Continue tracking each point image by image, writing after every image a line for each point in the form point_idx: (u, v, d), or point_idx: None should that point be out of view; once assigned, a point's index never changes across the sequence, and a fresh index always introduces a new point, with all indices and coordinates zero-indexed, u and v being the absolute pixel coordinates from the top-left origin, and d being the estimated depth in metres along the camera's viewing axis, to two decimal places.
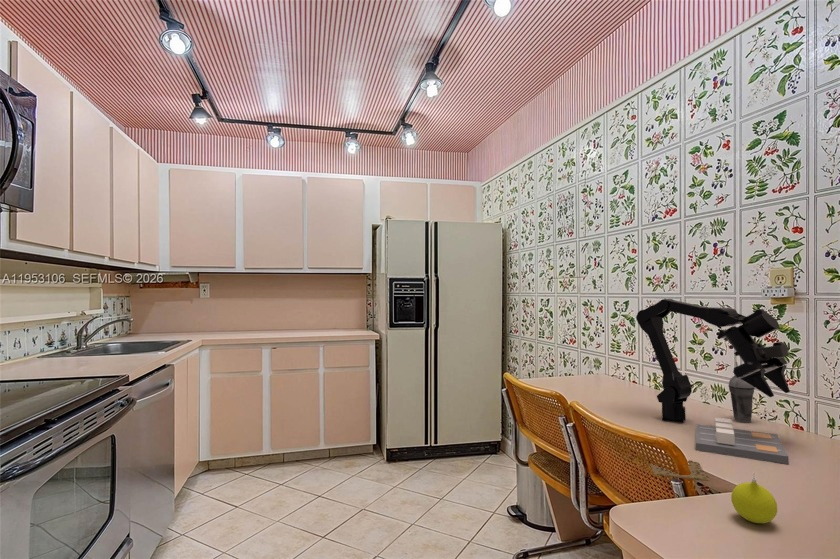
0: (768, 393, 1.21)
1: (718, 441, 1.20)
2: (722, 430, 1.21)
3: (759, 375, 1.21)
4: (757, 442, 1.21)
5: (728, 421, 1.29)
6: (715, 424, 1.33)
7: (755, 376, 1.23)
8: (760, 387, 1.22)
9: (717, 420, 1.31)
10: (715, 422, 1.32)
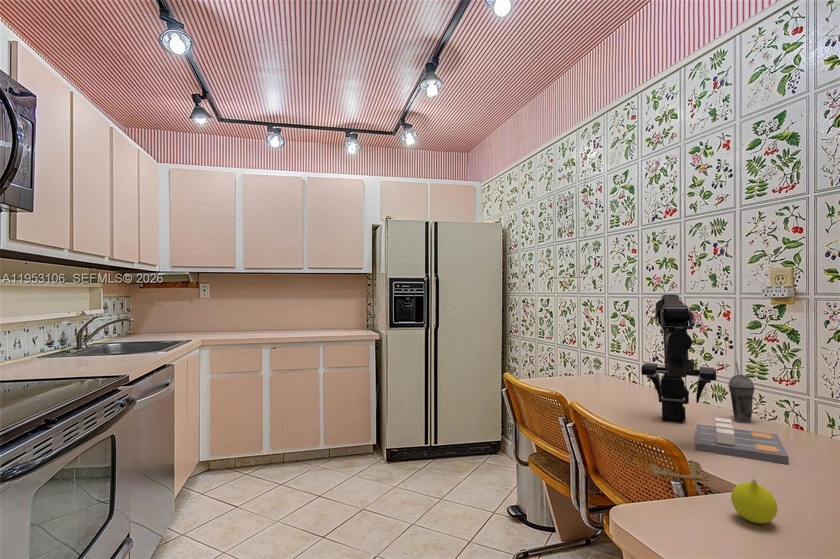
0: None
1: (718, 441, 1.20)
2: (722, 430, 1.21)
3: None
4: (757, 442, 1.21)
5: (728, 421, 1.29)
6: (715, 424, 1.33)
7: None
8: None
9: (717, 420, 1.31)
10: (715, 422, 1.32)
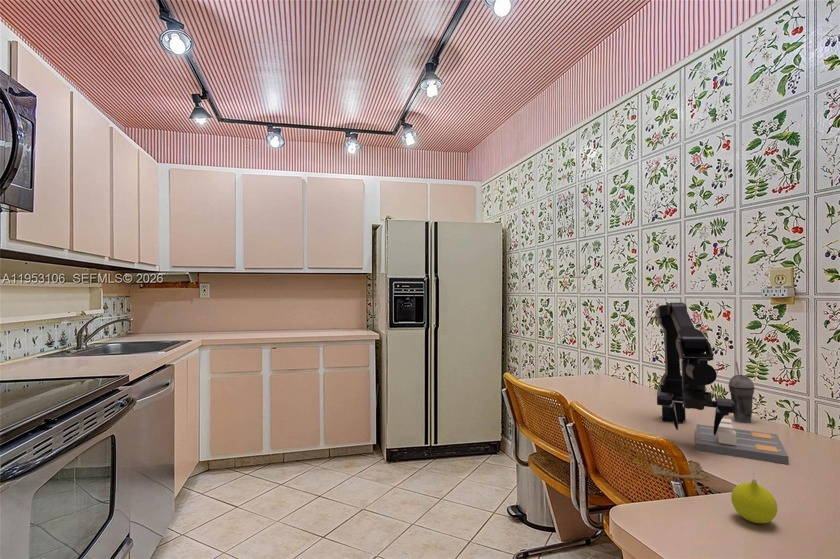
0: None
1: (720, 441, 1.20)
2: (724, 430, 1.21)
3: None
4: (757, 442, 1.21)
5: (728, 421, 1.29)
6: None
7: None
8: None
9: None
10: None
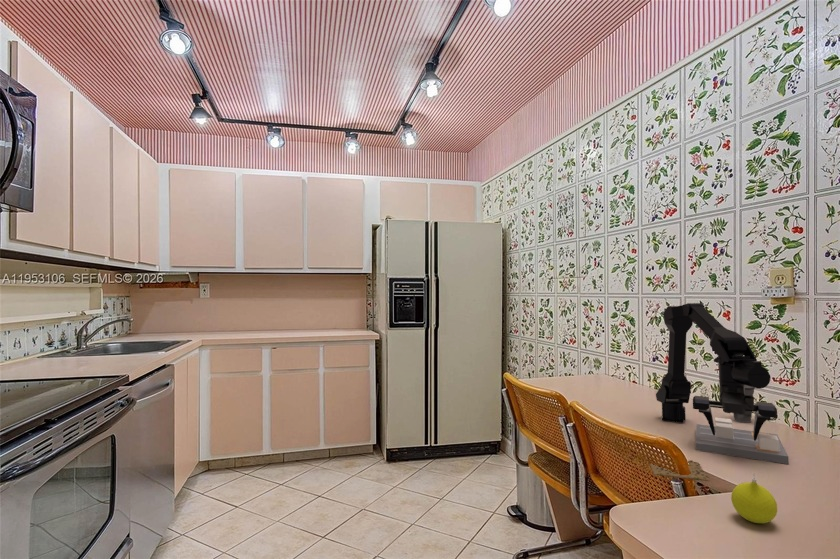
0: None
1: (761, 447, 1.15)
2: (765, 436, 1.16)
3: None
4: (757, 442, 1.21)
5: (728, 421, 1.29)
6: (715, 424, 1.33)
7: None
8: None
9: (717, 420, 1.31)
10: (715, 422, 1.32)
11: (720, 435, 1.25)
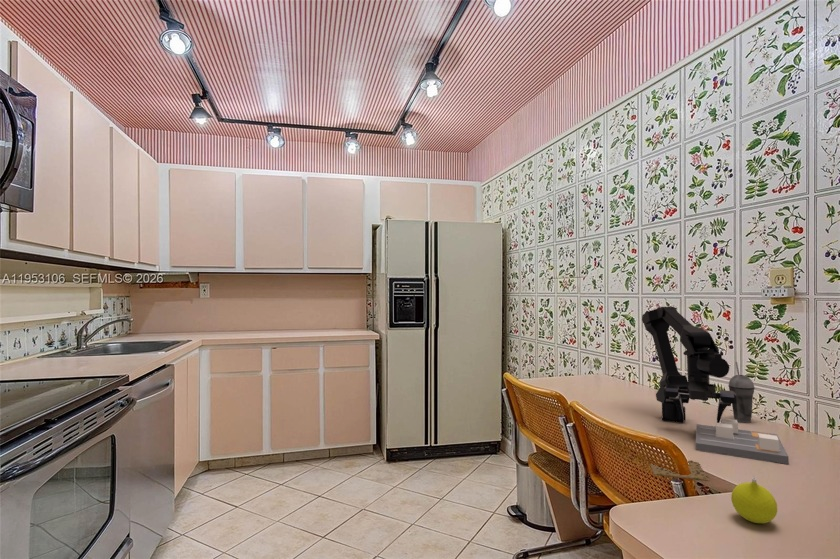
0: None
1: (761, 447, 1.15)
2: (765, 436, 1.16)
3: None
4: (757, 442, 1.21)
5: (734, 422, 1.29)
6: None
7: None
8: None
9: (723, 421, 1.30)
10: None
11: (720, 435, 1.25)
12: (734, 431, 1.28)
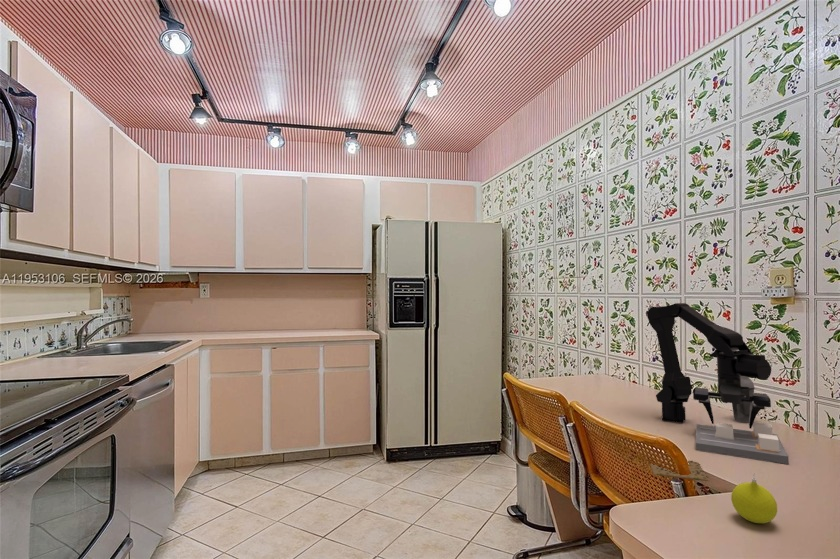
0: None
1: (761, 447, 1.15)
2: (765, 436, 1.16)
3: None
4: (757, 442, 1.21)
5: (768, 426, 1.24)
6: (753, 429, 1.28)
7: None
8: None
9: (756, 425, 1.25)
10: None
11: (720, 435, 1.25)
12: None
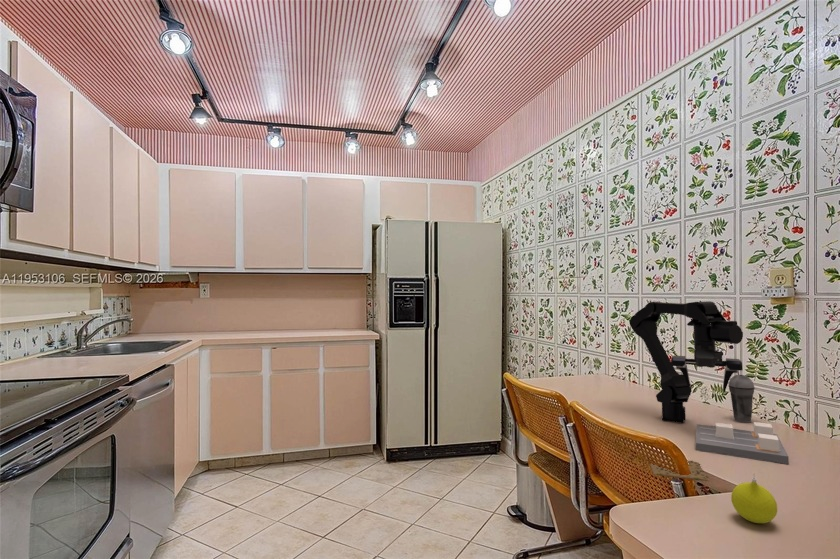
0: (688, 385, 1.40)
1: (761, 447, 1.15)
2: (765, 436, 1.16)
3: None
4: (757, 442, 1.21)
5: (768, 426, 1.24)
6: (754, 429, 1.28)
7: None
8: None
9: (756, 425, 1.25)
10: (754, 427, 1.27)
11: (720, 435, 1.25)
12: None
